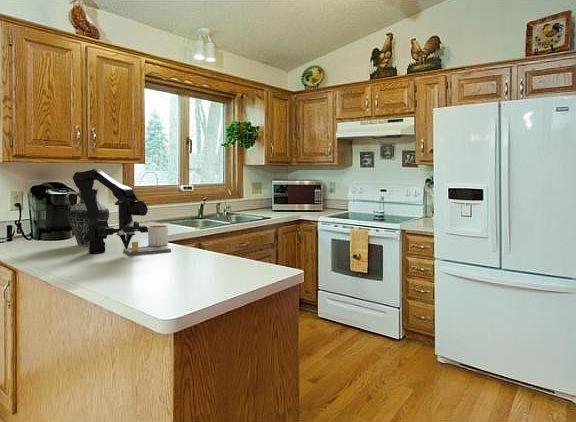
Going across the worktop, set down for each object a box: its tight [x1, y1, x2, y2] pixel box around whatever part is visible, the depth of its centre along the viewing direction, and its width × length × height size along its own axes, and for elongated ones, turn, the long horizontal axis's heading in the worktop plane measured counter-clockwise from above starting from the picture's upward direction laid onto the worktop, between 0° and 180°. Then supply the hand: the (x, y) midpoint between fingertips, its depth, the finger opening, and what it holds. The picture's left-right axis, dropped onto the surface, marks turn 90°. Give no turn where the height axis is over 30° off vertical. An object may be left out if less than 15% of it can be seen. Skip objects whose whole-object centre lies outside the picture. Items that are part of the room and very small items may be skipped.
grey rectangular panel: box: [123, 245, 172, 257], centre depth 193 cm, size 19×13×2 cm
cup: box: [147, 225, 169, 246], centre depth 212 cm, size 10×10×10 cm
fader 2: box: [156, 237, 162, 246], centre depth 200 cm, size 2×2×4 cm
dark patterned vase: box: [64, 188, 110, 247], centre depth 208 cm, size 21×19×30 cm
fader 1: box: [131, 240, 139, 251], centre depth 186 cm, size 2×2×4 cm
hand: (126, 248), depth 184 cm, fingers closed
